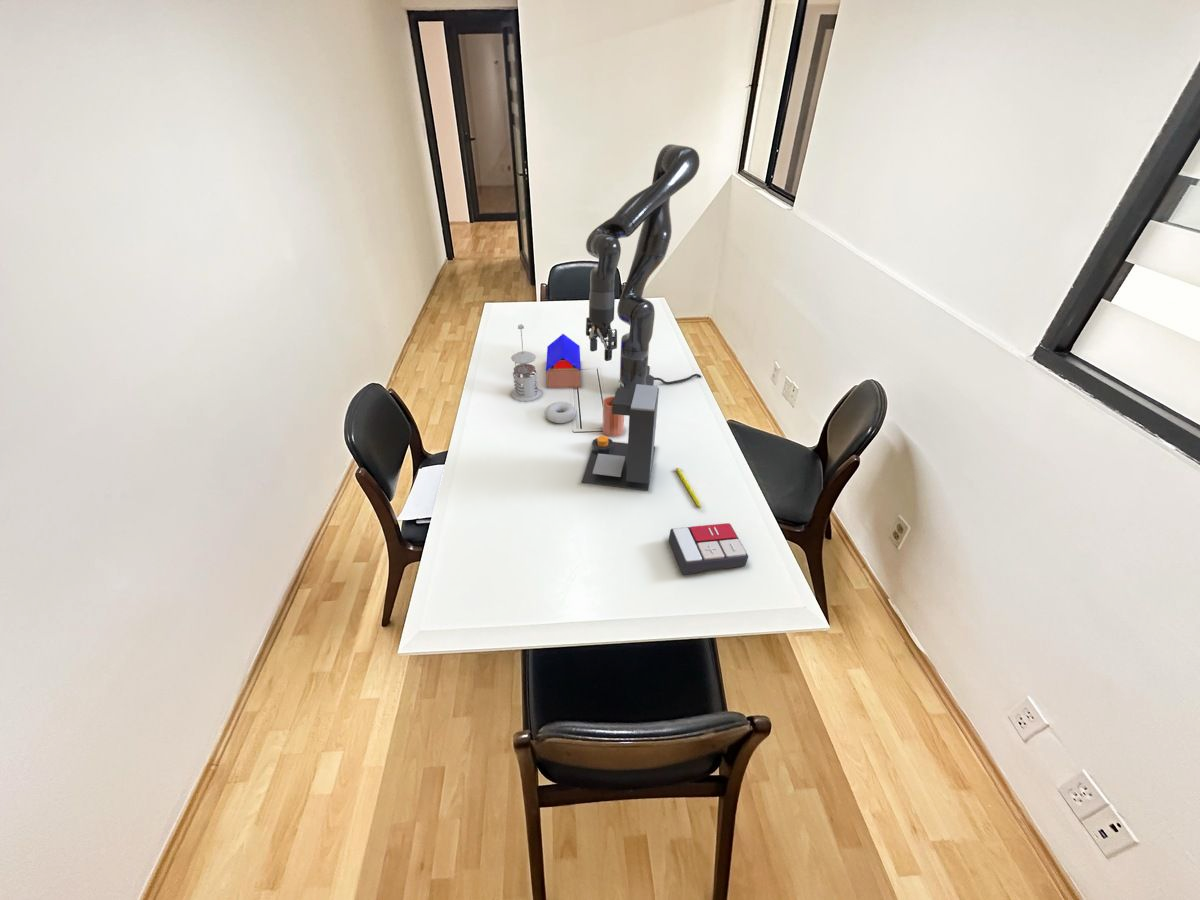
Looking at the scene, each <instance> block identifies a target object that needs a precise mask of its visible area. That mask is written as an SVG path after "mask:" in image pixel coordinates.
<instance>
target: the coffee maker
mask: <svg viewBox="0 0 1200 900" xmlns="http://www.w3.org/2000/svg"><path fill="white" fill-rule="evenodd" d="M659 392H660V387H659V386H658V385H652V386H651V385H640V384H636V387H635V390H634V389H623V388H619V387H617V388H616V391H615V394H614V396H615V397H614V400H613V403H612V414H617V415H624V416H628V417H629V418H628V435H627V443H628V454H627V475H626V481H629V482H637V483H646V484H649V480H650V481H651V477H650V474H651V475H652V471H651V468H652V469H653V465H652V461H653V462H654V458H653V454H654V455H655V452H654V446H655V443H656V442H655V439H656V428H657V417H658V406H659V405H658V404H659V394H660V393H659ZM624 460H625V456H617V455H608V454H599V453H598V457H597V460H596V463H595V466H594V470H593V473H592V474H599V475H608V476H616V477H621V473H622V469H623V464H624ZM649 485H650V484H649Z"/></svg>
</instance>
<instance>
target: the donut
mask: <svg viewBox="0 0 1200 900" xmlns="http://www.w3.org/2000/svg"><path fill="white" fill-rule="evenodd" d="M544 415H545V417H546V419H548V421H549V422H552V423H556V424H566V423H569V422H571V421H572V420H574V419H575V418H576V416H577V409H576V406H574V405H573V404H572V403H569V402H567V401H556V402H552V403H551V404H549V405H548V406H547V407H546V408H545V410H544Z"/></svg>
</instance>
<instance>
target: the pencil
mask: <svg viewBox="0 0 1200 900" xmlns="http://www.w3.org/2000/svg"><path fill="white" fill-rule="evenodd" d="M675 471H676V473H677V474H678V476H679V478H680V479H681V481H682V483H683V485H684V486H685V488H686V489H687V491H688V493H689V494H690V496H691V498H692V500H693V501H694V503H695V505H696V506H697V507H699V508H700V509H702V504H701V502H700V500H699V498H698V497H697V495H696V494H695V492H694V490H693V488H692V487H691V486H690V483H689V482H688V481H687V479H686V477H685V476H684V474H683V472H682V471H681V469H680V468H679V467H676V469H675Z"/></svg>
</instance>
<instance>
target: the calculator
mask: <svg viewBox="0 0 1200 900" xmlns="http://www.w3.org/2000/svg"><path fill="white" fill-rule="evenodd" d="M668 543H669V544H670V547H671V550H672V552H673V555H674V557H675V560H676V562H677V565H678V567H679V570H680V572H681V574H682V575H692V574H699V573H701V572H705V571H711V570H723V569H731V568H741V567H746V566H747V563H748V560H749V555H748V553H747V551H746V549H745V548H744V546H743V544H742V542H741V540H740V539H739V537H738V535H737V533H736V531H735V529H734V528H733V526H732V524H731V523H730V522H727V523H716V524H705V525H692V526H685V527H674V528H670V530H669V535H668Z"/></svg>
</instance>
